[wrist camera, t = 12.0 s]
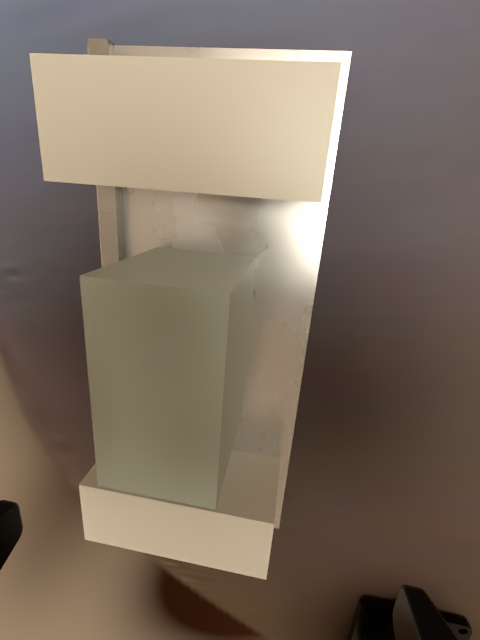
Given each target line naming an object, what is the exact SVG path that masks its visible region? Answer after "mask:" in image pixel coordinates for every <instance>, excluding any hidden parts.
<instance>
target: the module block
mask: <svg viewBox="0 0 480 640" xmlns="http://www.w3.org/2000/svg"><path fill="white" fill-rule="evenodd" d="M256 258H257V257H250V256H240V255H231V254H221V253H212V252H202V251H193V250H183V249H174V248H164V247H156V248H153V249H151V250H148V251H145V252H143V253H140V254H137V255H134V256H132V257H129V258H126V259H124V260H121V261H118V262H115V263H113V264H110V265H107V266H105V267H102V268H99V269H96V270H94V271H91V272H88V273H86V274H83V275H80V276H79V277H80V288H81V299H82V311H83V322H84V334H85V345H86V356H87V368H88V379H89V391H90V402H91V414H92V425H93V436H94V448H95V459H96V471H97V482H98V486H101V487H106V488H111V489H116V490H121V491H126V492H131V493H136V494H141V495H146V496H151V497H155V498H160V499H165V500H170V501H175V502H180V503H185V504H190V505H195V506H200V507H205V508H210V509H215V510H216V506H217V503H218V499H219V495H220V492H221V488H222V484H223V481H224V477H225V474H226V470H227V466H228V463H229V459H230V455H231V452H232V448H233V444H234V441H235V437H236V434H237V430H238V426H239V423H240V419H241V415H242V411H243V400H244V389H245V378H246V367H247V356H248V345H249V334H250V323H251V312H252V301H253V290H254V279H255V269H256Z"/></svg>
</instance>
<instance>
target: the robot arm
mask: <svg viewBox="0 0 480 640" xmlns="http://www.w3.org/2000/svg"><path fill="white" fill-rule="evenodd" d="M22 529H23V525H22V519H21V514H20V509H19V505H18V504H17V503H14V502H11V501H6V500H1V501H0V570H1V568H2V567H3V565H4V563H5V562H6V560H7V558H8V556H9V555H10V553H11V552H12V550H13V548H14V547H15V545H16V543H17V542H18V540H19V538H20V536H21V533H22ZM471 634H472V630H471V627H470V624H469V622H468V621H467V620H465V619H462V618H457V617H453V616H448V615H444V614H440V613H439V611H438V610H437V608H436V607H435V605H434V604H433V602H432V601H431V599H430V598H429V597H428V595H427V594H426V592H425V591H424V590H422V589H421V588H418V587H413V586H409V585H402V586H401V587H400V590H399V593H398V596H397V599H396V602H395V604H394V603H389V602H385V601H380V600H376V599H371V598H363V599H361V600H360V602H359V606H358V609H357V613H356V616H355V619H354V623H353V626H352V630H351V633H350V636H349V640H469V638H470V636H471Z"/></svg>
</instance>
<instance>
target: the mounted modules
mask: <svg viewBox="0 0 480 640" xmlns="http://www.w3.org/2000/svg"><path fill="white" fill-rule="evenodd" d="M29 54H30V63H31V71H32V80H33V89H34V98H35V106H36V115H37V124H38V133H39V141H40V150H41V159H42V168H43V176H44V181H53V182H66V183H78V184H90V185H103V186H115V187H128V188H140V189H152V190H165V191H177V192H190V193H202V194H214V195H227V196H239V197H252V198H264V199H276V200H289V201H301V202H314V203H321V201H322V194H323V187H324V180H325V173H326V166H327V160H328V153H329V146H330V139H331V132H332V125H333V118H334V112H335V105H336V98H337V91H338V84H339V77H340V71H341V64H342V62H318V61H283V60H249V59H214V58H179V57H145V56H110V55H75V54H41V53H29ZM279 463H280V458H275V457H269V456H264V455H258V454H252V453H247V452H241V451H235V450H232V452H231V455H230V459H229V463H228V466H227V470H226V474H225V477H224V481H223V484H222V488H221V492H220V495H219V499H218V503H217V506H216V510H215V509H210V508H205V507H200V506H195V505H190V504H185V503H180V502H175V501H170V500H165V499H160V498H155V497H151V496H146V495H141V494H136V493H131V492H126V491H121V490H116V489H111V488H106V487H101V486H98V482H97V471H96V463H95V464H94V466H93V467H92V468H91V470H90V471H89V472H88V473H87V475H86V476H85V477H84V479H83V480H82V481H81V483H80V484H79V491H80V500H81V509H82V517H83V526H84V535H85V540H90V541H94V542H99V543H103V544H108V545H112V546H117V547H122V548H126V549H130V550H135V551H139V552H144V553H148V554H153V555H157V556H162V557H166V558H171V559H175V560H180V561H184V562H189V563H193V564H197V565H202V566H206V567H211V568H215V569H220V570H224V571H229V572H233V573H238V574H242V575H247V576H251V577H256V578H260V579H265V580H266V577H267V571H268V564H269V557H270V550H271V543H272V536H273V529H274V521H275V510H276V498H277V486H278V475H279Z"/></svg>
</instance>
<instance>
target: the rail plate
mask: <svg viewBox="0 0 480 640" xmlns="http://www.w3.org/2000/svg"><path fill="white" fill-rule="evenodd" d="M87 52H88V55H110V56H145V57H179V58H214V59H249V60H283V61H318V62H342V64H341V71H340V77H339V84H338V91H337V98H336V105H335V112H334V118H333V125H332V132H331V139H330V146H329V153H328V160H327V166H326V173H325V180H324V187H323V194H322V201H321V203H314V202H301V201H289V200H276V199H264V198H252V197H239V196H227V195H214V194H202V193H190V192H177V191H165V190H152V189H140V188H128V187H115V186H103V185H96V188H97V203H98V218H99V233H100V249H101V264H102V267H105V266H107V265H110V264H113V263H115V262H118V261H121V260H124V259H126V258H129V257H132V256H134V255H137V254H140V253H143V252H145V251H148V250H151V249H153V248H156V247H164V248H174V249H183V250H193V251H202V252H212V253H221V254H231V255H240V256H250V257H257V258H256V269H255V279H254V290H253V301H252V312H251V323H250V334H249V345H248V356H247V367H246V378H245V389H244V400H243V411H242V415H241V419H240V423H239V426H238V430H237V434H236V437H235V441H234V444H233V448H232V450H235V451H241V452H247V453H252V454H258V455H264V456H269V457H275V458H280V463H279V475H278V486H277V498H276V510H275V521H274V528H278V529H279V524H280V518H281V511H282V505H283V498H284V492H285V485H286V478H287V472H288V465H289V459H290V452H291V446H292V439H293V433H294V426H295V420H296V413H297V407H298V400H299V394H300V387H301V381H302V374H303V367H304V361H305V354H306V348H307V341H308V335H309V328H310V322H311V315H312V309H313V302H314V296H315V289H316V283H317V276H318V269H319V263H320V256H321V250H322V243H323V237H324V230H325V224H326V217H327V211H328V204H329V198H330V191H331V185H332V178H333V172H334V165H335V158H336V152H337V145H338V139H339V132H340V126H341V119H342V113H343V106H344V100H345V93H346V87H347V80H348V74H349V67H350V61H351V54H352V51H321V50H281V49H241V48H200V47H160V46H120V45H115V44H114V43H112V42H111V41H110V40H109V39H88V45H87Z"/></svg>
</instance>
